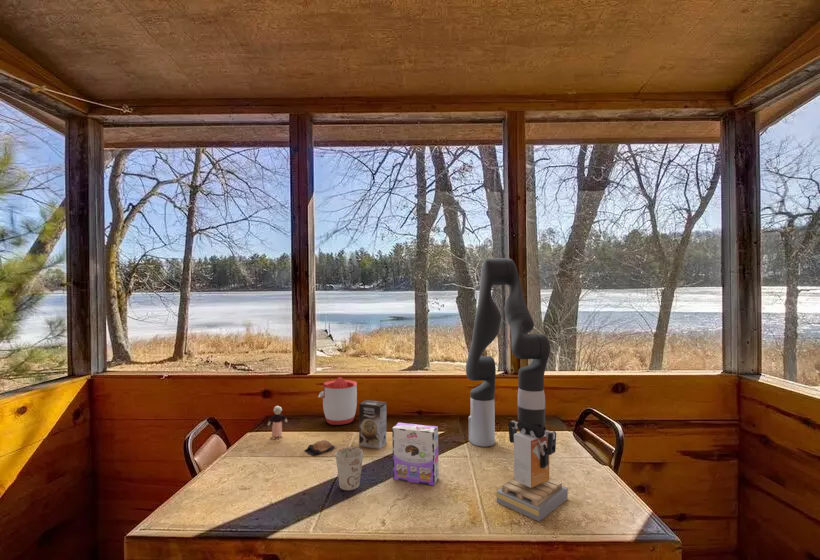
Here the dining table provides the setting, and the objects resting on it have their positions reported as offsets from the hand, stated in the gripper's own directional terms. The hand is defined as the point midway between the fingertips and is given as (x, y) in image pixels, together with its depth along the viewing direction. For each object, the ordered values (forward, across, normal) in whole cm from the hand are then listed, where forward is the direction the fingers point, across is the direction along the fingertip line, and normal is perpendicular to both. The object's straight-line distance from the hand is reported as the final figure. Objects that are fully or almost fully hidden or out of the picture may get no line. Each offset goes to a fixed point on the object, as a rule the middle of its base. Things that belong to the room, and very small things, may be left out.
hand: (531, 463), depth 113 cm
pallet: (+7, 0, 0) cm, 7 cm away
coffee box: (+11, -63, -8) cm, 64 cm away
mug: (+11, -45, -32) cm, 56 cm away
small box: (+5, 0, 0) cm, 5 cm away
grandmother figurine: (+11, -96, -31) cm, 101 cm away
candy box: (+11, -32, -15) cm, 37 cm away
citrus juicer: (+11, -95, -3) cm, 96 cm away
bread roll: (+11, -73, -25) cm, 78 cm away
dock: (+10, 0, 0) cm, 10 cm away
